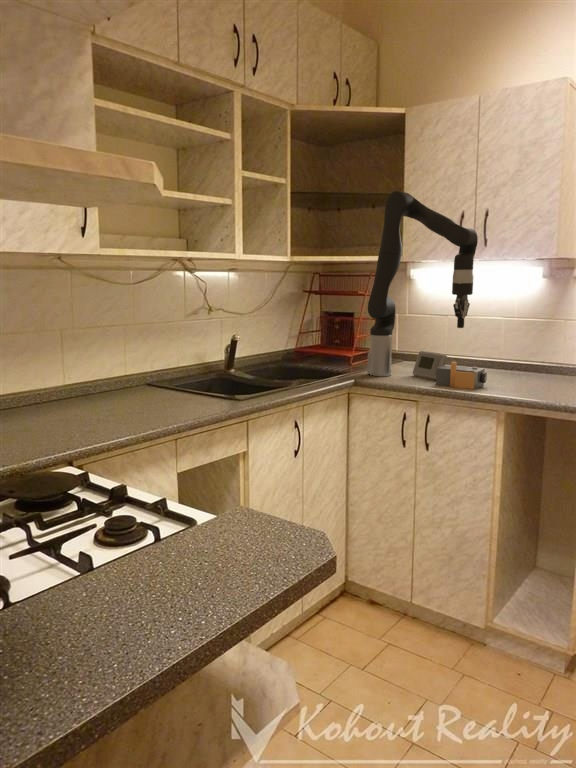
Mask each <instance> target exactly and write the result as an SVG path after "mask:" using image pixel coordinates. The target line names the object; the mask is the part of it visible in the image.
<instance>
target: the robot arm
mask: <svg viewBox="0 0 576 768" xmlns="http://www.w3.org/2000/svg"><path fill="white" fill-rule="evenodd" d="M384 208H385V209H384V216H383V219H384V220H383V227H382V235H381V240H380V247H379V251H378V257H377V263H376V267H375V273H374V280H373V284H372V288H371V292H370V295H369V299H368V302H367V313H368V315H369V316H370V318H371V319H375V321H374V324H373V326H371V328H370V332H369V333H370V335H369V352H367V373H366V374H370V375H369V376H372V375H373V376H372V377H389V376H392V353H393V350H392V349H393V331H394V328H395V324H396V304H395V301H394V299H393V298H392V297H390V296H388V294H389V289H390V286H391V284H392V282H393V280H394V278H395V276H396V274H397V273H398V271H399V269H400V264H401V260H402V256H403V244H402V237H401V230H400V229H401V222H402V218H403V217H406V218H410V219H413V220H415V221H417V222H420V223H421V224H423V226H425V228H426V229H429V231H431V232H433V233H435V234H437V235H439V236H441V237H443V238H445V240H447V241H448V242H449V243H451V244H453V245H454V246H457V247H459V249H458V250H459V251H458V253H457V254H456V255H455V256H454V260H453V261H454V262H453V274H452V283H451V284H452V287H451V294H452V295H454V296H455V295H456V298H455V300H454V301H455V302H454V303H453V311H454V315H455V316H454V317H456V318H457V320H456V321H457V322H456V323H457V325H456V327H457V328H458V329H463V328H464V327H465V318H466V317H467V316H468V312H469V308H470V305H471V304H470V302H469V298H468V297H469V296H471V295H473V294H474V293H473V290H474V257H475V254H476V250H477V246H478V243H479V237H478V234H477V233H478V232H477V231H476V230H475V229H473V228H471V227H470V228H469V227H464V226H462V225H459V224H458V223H456V221H454V219H451V218H450V217H448V216H446V215H444V214H442V213H440V212H437V211H436V210H433V209H431V208H430V207H427V205H425V204H423V203H421V202H420V201H419V200H417V198H415V197H414V196H413V195H412V194H410V193H408V192H404V191H401V190H400V191H399V190H394V191H392V192H390V193H389V195H388V196H387V197H386V201H385V205H384Z"/></svg>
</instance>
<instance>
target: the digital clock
mask: <svg viewBox="0 0 576 768" xmlns="http://www.w3.org/2000/svg"><path fill="white" fill-rule="evenodd" d="M447 359H448V356H447V354H443V353H440V352H433V351H425V350H420V351H418V354H417V356H416V359H415V360H416V361H415V363H414V367H413V370H412V375H413V376H415V377H418V378H422V379H427V380H428V379H429V380H432V381H434V380H435V381H436V369H437V368H438V367H441V366H444V365H446V362H447Z"/></svg>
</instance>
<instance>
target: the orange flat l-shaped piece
mask: <svg viewBox="0 0 576 768" xmlns="http://www.w3.org/2000/svg"><path fill="white" fill-rule="evenodd" d="M450 366H451V373H450V386H449V387H450V388H457V387H458V389H459V388H460V389H468V388H469V389H470V390H478V389H477V376H478V372H474V373H471V372H458V371H456V366H457V361H451V362H450Z"/></svg>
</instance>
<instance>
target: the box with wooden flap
mask: <svg viewBox="0 0 576 768" xmlns="http://www.w3.org/2000/svg"><path fill="white" fill-rule="evenodd" d="M456 371H458V372H471V373H474V372H478V376H477V388H478V389H479V388H481V387H483V386H484V385H485V383H487V380H488V379H487V378H488V375H487V372H486V370H485V368H482V367H481V368H480V367H479V368H478V367H477V366H472V367H469V366H457V365H456ZM450 373H451V365H446V364H445V365H444V366H441V367H438V368H437V369H436V380H435V385H436V386H447V387H450Z"/></svg>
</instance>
